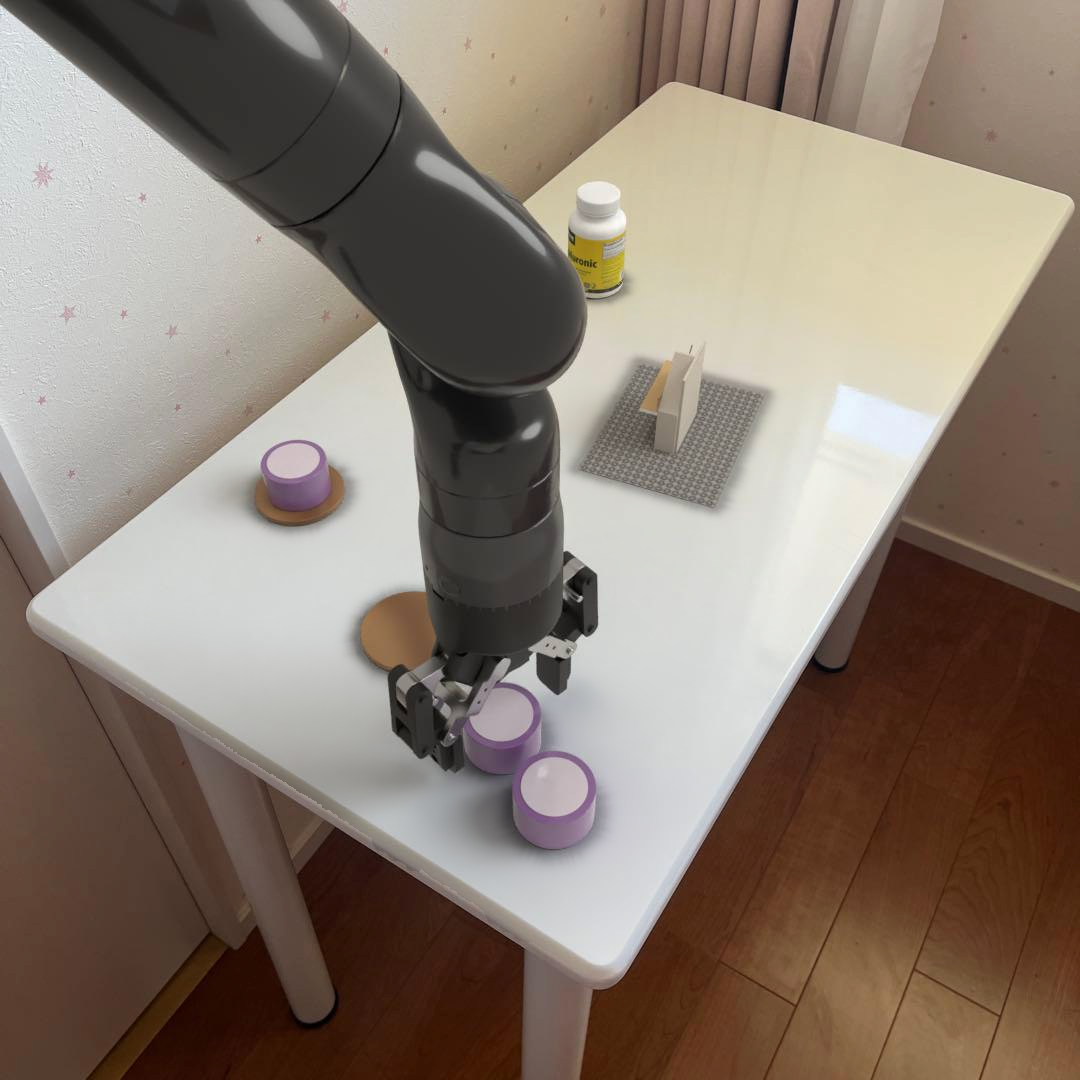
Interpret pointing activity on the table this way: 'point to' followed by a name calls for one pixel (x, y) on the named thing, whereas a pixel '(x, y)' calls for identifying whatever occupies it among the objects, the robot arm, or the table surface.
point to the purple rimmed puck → (554, 799)
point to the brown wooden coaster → (399, 631)
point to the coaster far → (307, 515)
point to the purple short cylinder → (296, 475)
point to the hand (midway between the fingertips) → (501, 722)
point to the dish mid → (504, 730)
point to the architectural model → (675, 431)
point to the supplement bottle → (598, 238)
